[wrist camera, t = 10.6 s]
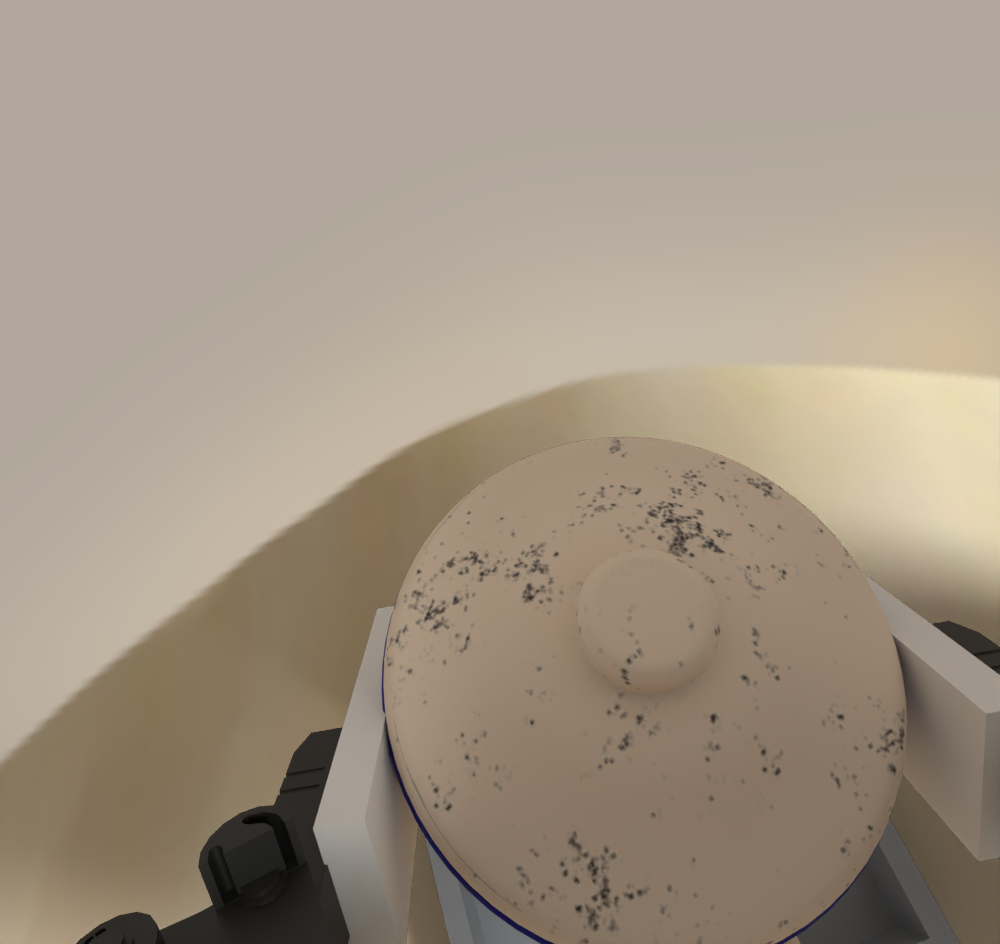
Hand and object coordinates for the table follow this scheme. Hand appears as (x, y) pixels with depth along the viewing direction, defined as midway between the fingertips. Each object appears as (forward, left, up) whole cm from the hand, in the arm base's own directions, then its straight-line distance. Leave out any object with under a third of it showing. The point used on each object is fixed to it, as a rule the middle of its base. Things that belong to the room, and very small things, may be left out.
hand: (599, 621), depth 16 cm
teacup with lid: (0, +3, -5) cm, 6 cm away
